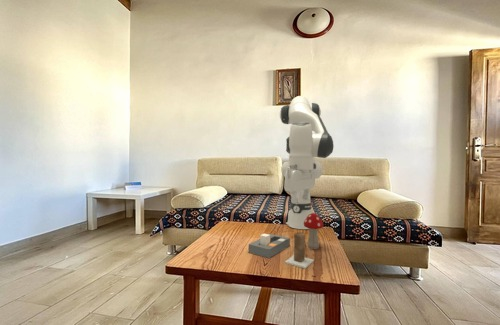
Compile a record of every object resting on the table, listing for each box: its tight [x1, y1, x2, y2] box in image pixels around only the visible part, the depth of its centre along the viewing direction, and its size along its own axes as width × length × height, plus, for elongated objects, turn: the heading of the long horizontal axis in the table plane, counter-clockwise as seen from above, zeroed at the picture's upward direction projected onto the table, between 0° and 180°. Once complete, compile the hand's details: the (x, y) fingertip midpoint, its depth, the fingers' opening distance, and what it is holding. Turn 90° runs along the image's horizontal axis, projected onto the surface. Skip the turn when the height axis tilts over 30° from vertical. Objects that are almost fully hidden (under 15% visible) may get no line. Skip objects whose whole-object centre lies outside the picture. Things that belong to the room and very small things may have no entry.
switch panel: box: [248, 233, 291, 259], centre depth 103 cm, size 18×10×4 cm, turn 144°
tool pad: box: [285, 254, 314, 269], centre depth 90 cm, size 8×8×1 cm
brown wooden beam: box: [293, 232, 306, 263], centre depth 90 cm, size 3×3×10 cm
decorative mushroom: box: [304, 212, 324, 250], centre depth 107 cm, size 10×9×15 cm
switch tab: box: [260, 233, 270, 246], centre depth 100 cm, size 3×3×5 cm
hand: (300, 201), depth 90 cm, fingers open, 8 cm apart
